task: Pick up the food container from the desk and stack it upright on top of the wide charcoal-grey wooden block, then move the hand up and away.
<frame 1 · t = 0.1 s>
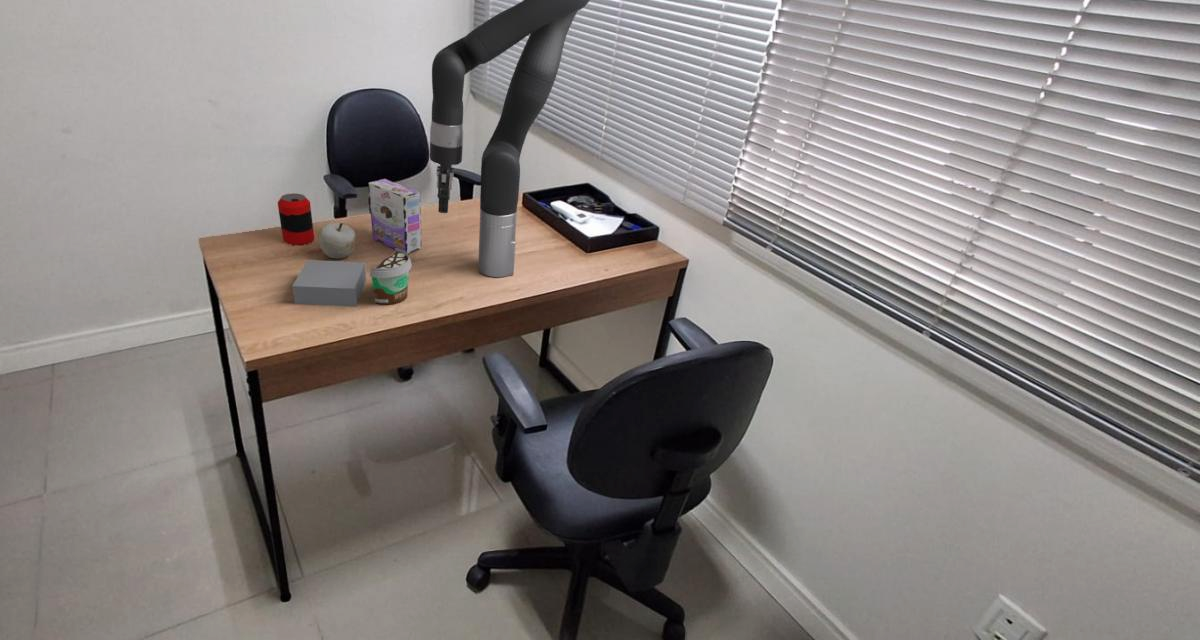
hand: (444, 206, 152), 17 cm above the table, tool pointing down, fingers open, 8 cm apart
food container: (397, 298, 145), on the table
candy box: (396, 244, 170), on the table
grey block: (332, 292, 144), on the table
decorative object: (339, 257, 159), on the table
soda can: (299, 240, 164), on the table
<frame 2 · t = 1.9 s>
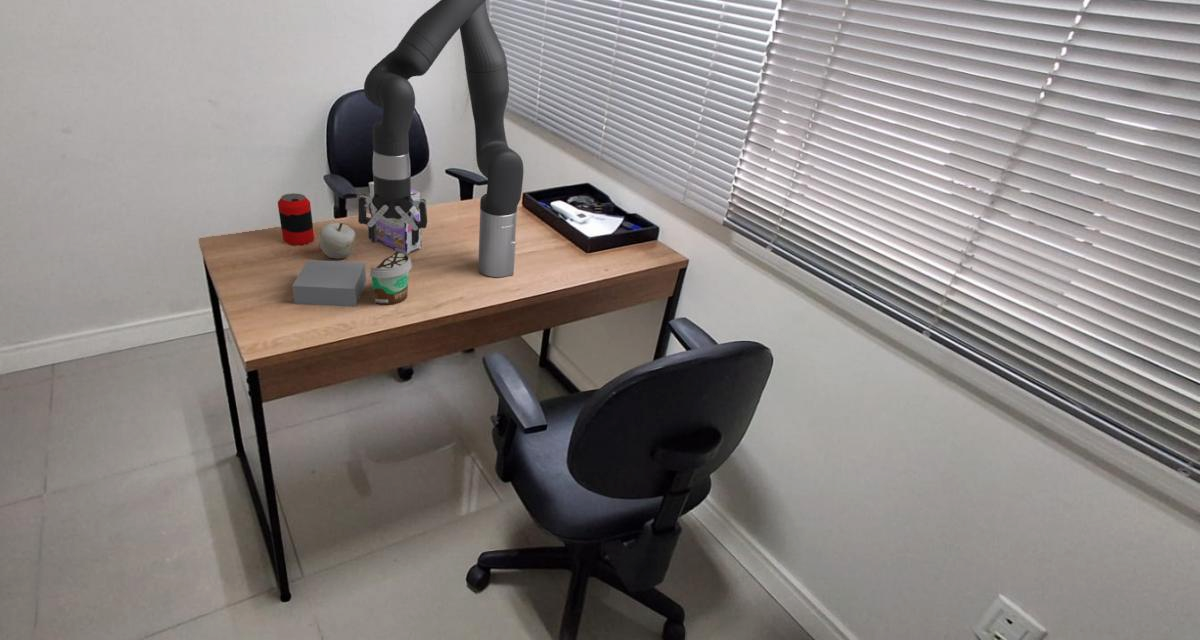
hand: (394, 242, 138), 14 cm above the table, tool pointing down, fingers open, 8 cm apart
nothing on the table moved.
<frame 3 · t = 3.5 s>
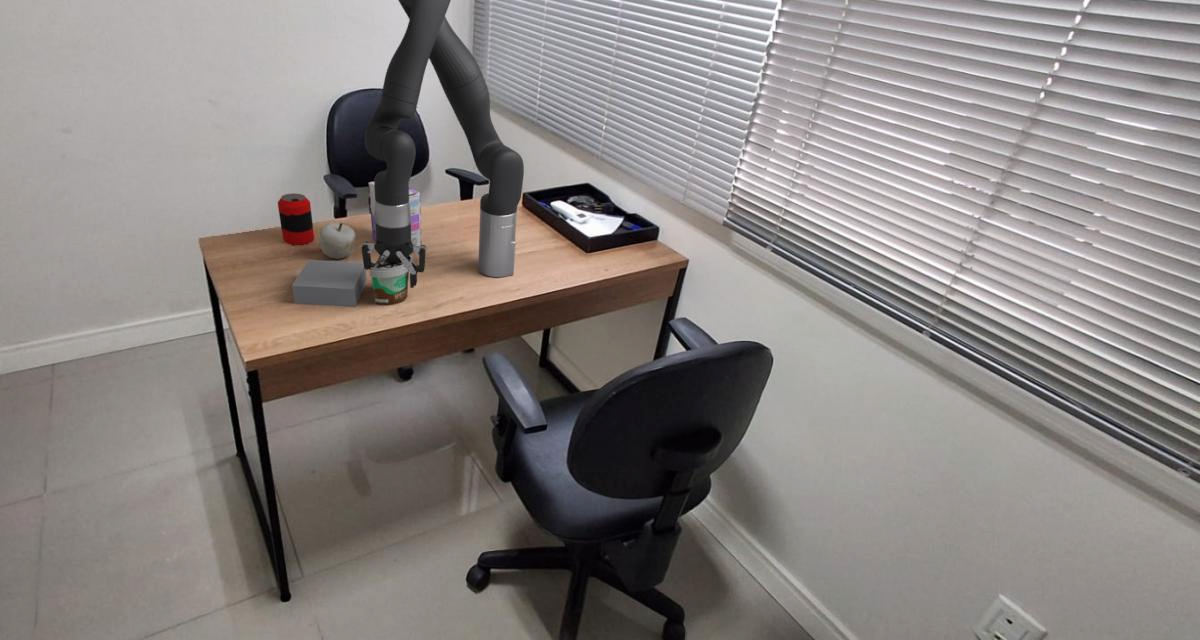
hand: (395, 285, 143), 3 cm above the table, tool pointing down, fingers closed on food container, 7 cm apart
food container: (397, 298, 145), on the table, touching gripper
everything else where it was.
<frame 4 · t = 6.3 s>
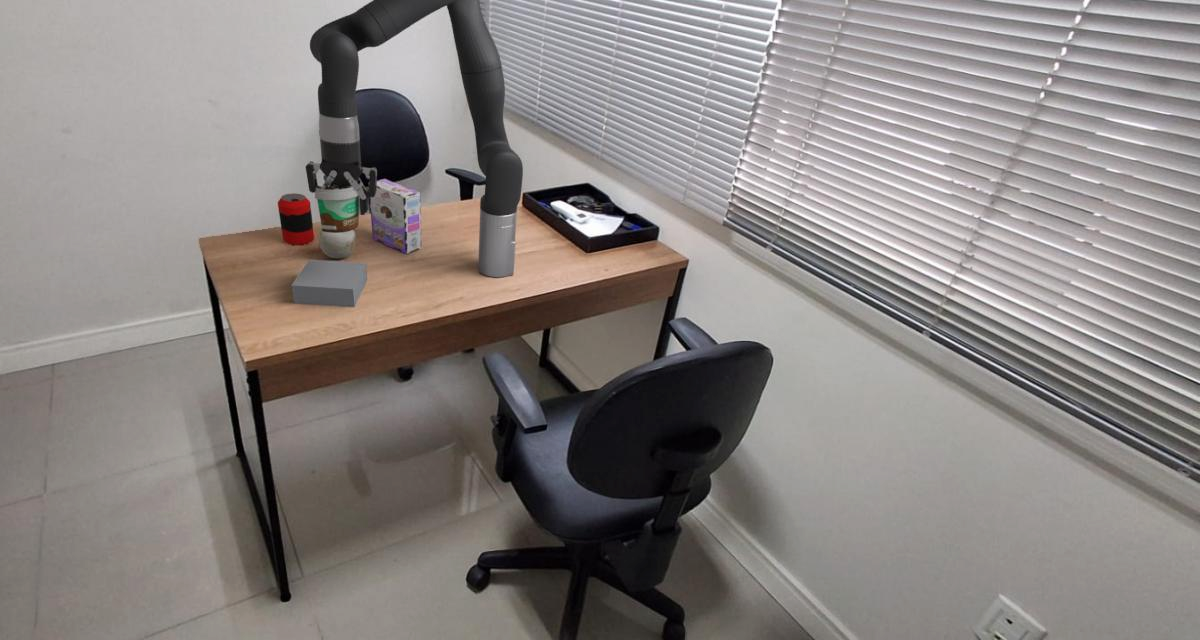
hand: (344, 212, 134), 20 cm above the table, tool pointing down, fingers closed on food container, 7 cm apart
food container: (347, 227, 136), point 17 cm above the table, touching gripper
everything else where it was.
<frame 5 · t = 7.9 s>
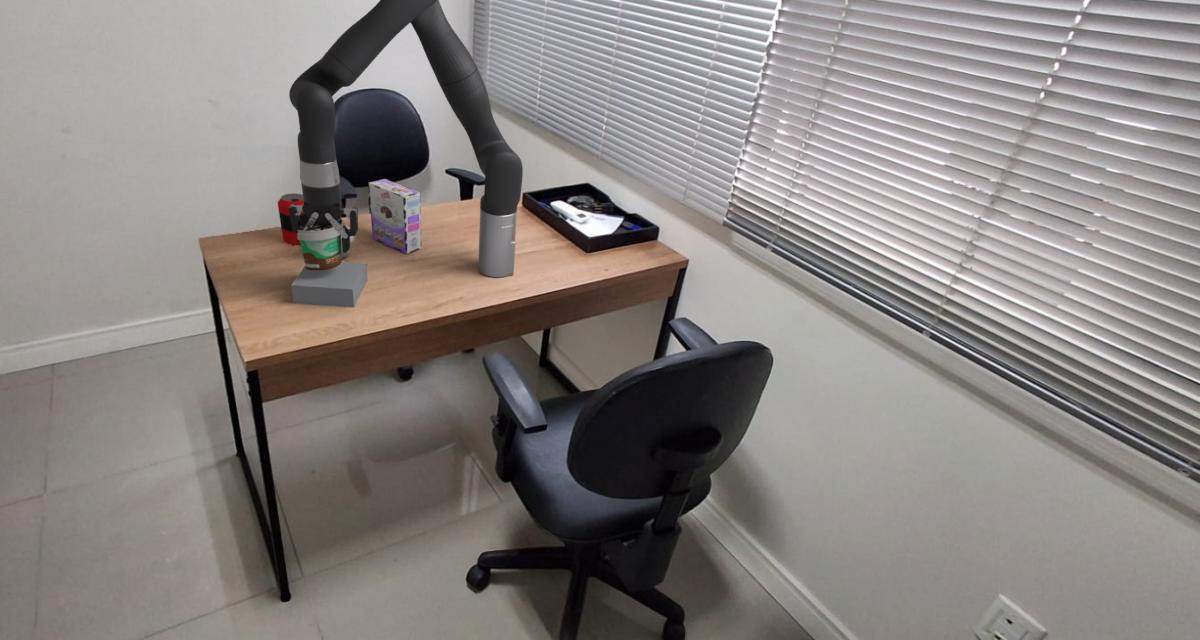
hand: (328, 250, 139), 11 cm above the table, tool pointing down, fingers closed on food container, 7 cm apart
food container: (331, 264, 141), point 7 cm above the table, touching gripper
everything else where it was.
when the fingers open (10 cm above the table, at t = 9.0 s): food container drops 2 cm, resting on grey block.
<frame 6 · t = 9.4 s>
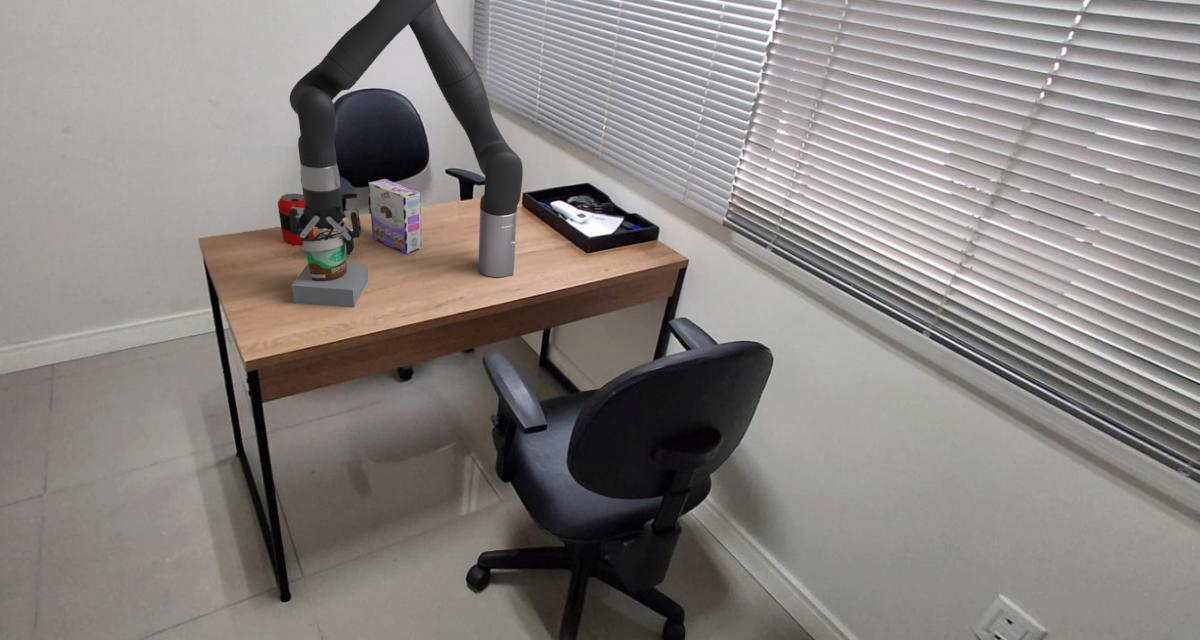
hand: (329, 252, 139), 10 cm above the table, tool pointing down, fingers open, 8 cm apart
food container: (336, 274, 142), point 4 cm above the table, touching grey block, gripper
grey block: (332, 293, 144), on the table, touching food container
everything else where it was.
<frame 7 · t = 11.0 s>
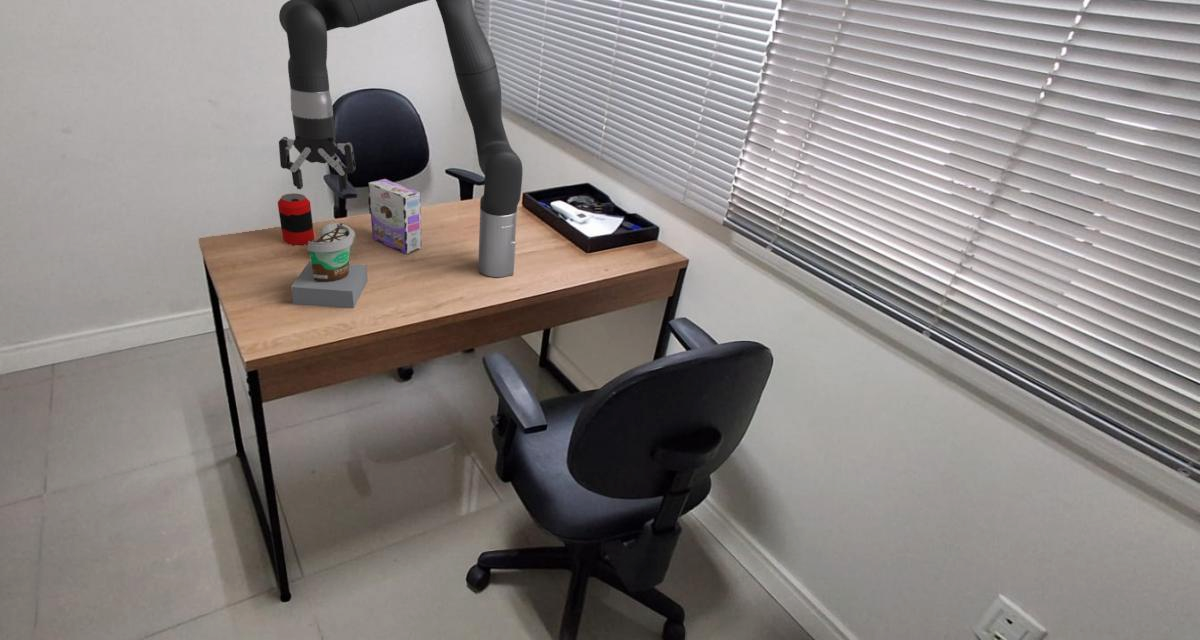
hand: (321, 189, 131), 25 cm above the table, tool pointing down, fingers open, 8 cm apart
food container: (338, 275, 142), point 4 cm above the table
grey block: (332, 294, 144), on the table
everything else where it was.
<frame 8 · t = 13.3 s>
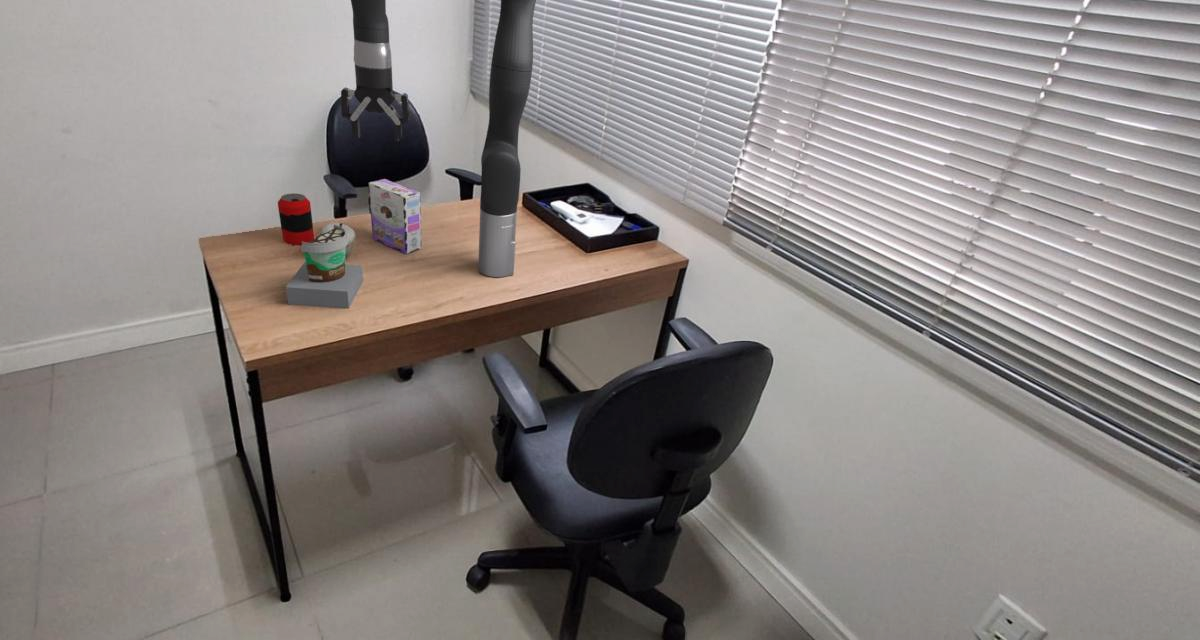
hand: (377, 138, 140), 33 cm above the table, tool pointing down, fingers open, 8 cm apart
grey block: (327, 294, 144), on the table
at the end: food container inside the target area on the grey block (1.8 cm from its centre), point 4.9 cm above the grey block's base; food container tilted 1°; the gripper is holding nothing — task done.
